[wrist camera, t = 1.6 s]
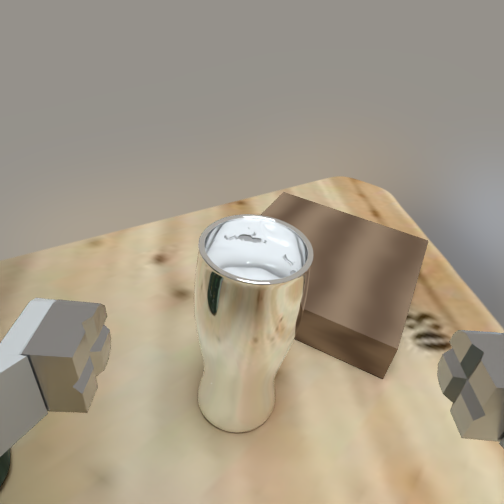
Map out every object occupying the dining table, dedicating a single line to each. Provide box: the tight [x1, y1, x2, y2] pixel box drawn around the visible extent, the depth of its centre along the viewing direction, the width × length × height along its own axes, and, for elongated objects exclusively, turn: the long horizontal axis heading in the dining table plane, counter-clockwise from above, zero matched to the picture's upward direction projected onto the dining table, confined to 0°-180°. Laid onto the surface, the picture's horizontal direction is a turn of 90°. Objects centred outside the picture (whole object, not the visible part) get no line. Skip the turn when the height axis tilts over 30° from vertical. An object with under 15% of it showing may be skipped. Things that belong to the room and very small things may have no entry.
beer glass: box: [194, 214, 314, 433], centre depth 27 cm, size 7×7×15 cm
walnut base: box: [261, 192, 428, 379], centre depth 43 cm, size 18×18×4 cm
